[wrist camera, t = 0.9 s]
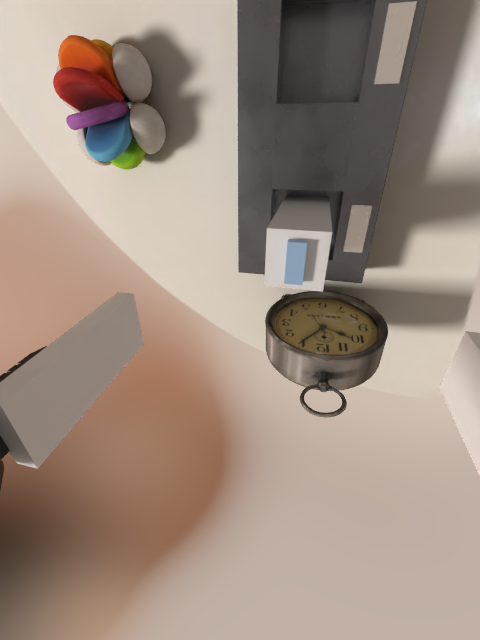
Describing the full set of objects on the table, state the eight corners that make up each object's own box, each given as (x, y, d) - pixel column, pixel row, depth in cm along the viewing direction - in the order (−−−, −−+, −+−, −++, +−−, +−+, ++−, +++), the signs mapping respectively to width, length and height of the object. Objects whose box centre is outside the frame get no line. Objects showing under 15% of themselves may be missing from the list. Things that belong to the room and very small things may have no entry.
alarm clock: (377, 289, 32) (416, 400, 19) (367, 331, 35) (395, 454, 22) (275, 282, 35) (244, 377, 21) (274, 322, 37) (246, 429, 24)
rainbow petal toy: (147, 31, 26) (93, 0, 20) (178, 159, 30) (142, 166, 24) (67, 59, 28) (-3, 39, 22) (107, 173, 33) (59, 182, 27)
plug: (286, 195, 29) (265, 230, 19) (329, 197, 28) (332, 234, 18) (283, 237, 31) (262, 289, 21) (322, 239, 30) (322, 295, 20)
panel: (248, -24, 22) (236, -50, 19) (425, -43, 20) (445, -76, 17) (246, 259, 34) (238, 272, 31) (358, 269, 32) (361, 284, 28)
